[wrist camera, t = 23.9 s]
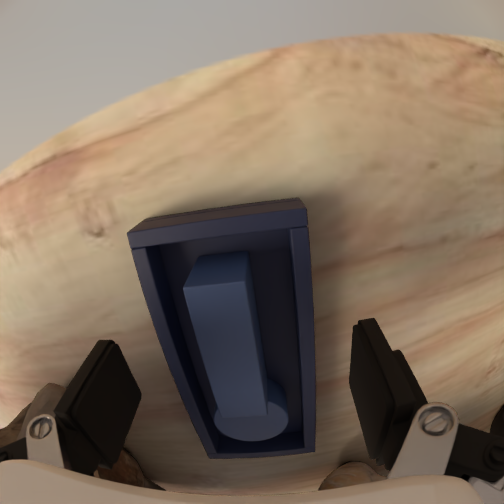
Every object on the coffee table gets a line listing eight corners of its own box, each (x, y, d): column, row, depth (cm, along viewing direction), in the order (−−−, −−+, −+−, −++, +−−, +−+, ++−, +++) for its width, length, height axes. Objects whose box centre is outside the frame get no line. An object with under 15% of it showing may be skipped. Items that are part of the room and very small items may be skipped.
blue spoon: (177, 258, 13) (158, 290, 10) (269, 247, 13) (272, 278, 10) (224, 420, 17) (219, 458, 14) (288, 416, 17) (291, 455, 14)
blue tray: (144, 219, 13) (125, 232, 11) (299, 197, 13) (306, 207, 11) (212, 435, 18) (209, 458, 16) (311, 428, 18) (315, 452, 16)
